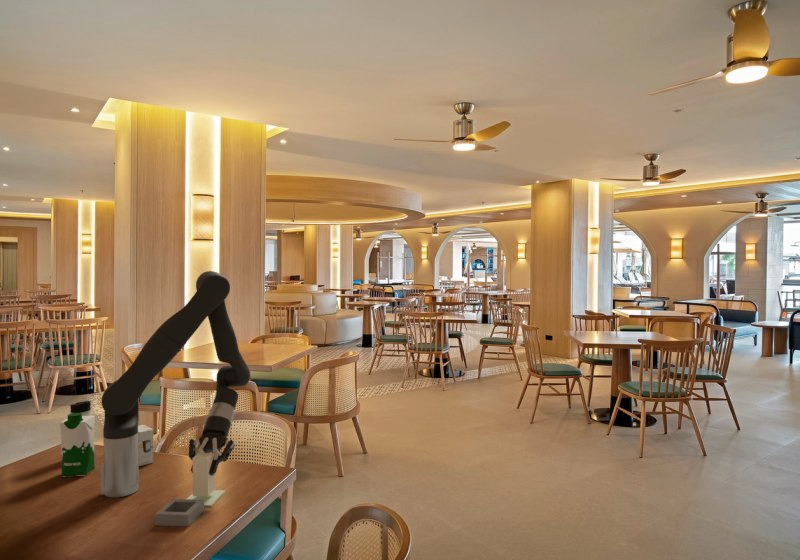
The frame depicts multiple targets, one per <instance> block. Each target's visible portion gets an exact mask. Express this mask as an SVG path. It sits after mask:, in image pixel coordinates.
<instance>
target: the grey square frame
mask: <svg viewBox="0 0 800 560" xmlns="http://www.w3.org/2000/svg"><path fill="white" fill-rule="evenodd" d="M204 511H205V506H204V500H192V499H187V498H185V499H184V498H172V499H170V501H169V502H167V503H166V504H165V505H163V506H162V508H160V509H159V510H158V511H157V512H156V513H155V514H154V526H165V527H166V526H167V527H190V525H191V524H193V523H194V521H196V519H197V518H199V516H200V515H201V514H203V512H204Z"/></svg>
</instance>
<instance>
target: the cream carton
mask: <svg viewBox="0 0 800 560" xmlns="http://www.w3.org/2000/svg"><path fill="white" fill-rule="evenodd" d="M196 454H197V453H196ZM213 460H214V453H212V452H210V453H199V454H197V455H196V456H195V457H193V458H192V460H191V462H192V464H193V474H192V493H193V496H209V495H210V494H211V493H212V492H213V491H214V490H216V485H215V484H216V482H215V481H216V477H215V475H216V473H215V474H214V475H213V476H211V475H210V474H209V470H210V467H211V464H212V461H213Z"/></svg>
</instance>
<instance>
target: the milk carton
mask: <svg viewBox="0 0 800 560" xmlns="http://www.w3.org/2000/svg"><path fill="white" fill-rule="evenodd" d="M95 418H96V415H91V416H82V413H72V414H71V413H69V414H67V418H65V419H63V420H62V421H60V422H59V428H60V452H61V453H60V455H61V456H60V458H61V461H60V462H61V477H62V476H76V475H86V474H87V473H88V472H89V473H91V472H92V471H93V470H94V469H95V421H96V420H95ZM93 468H94V469H93ZM92 469H93V470H92ZM91 470H92V471H91ZM90 471H91V472H90ZM89 473H88V474H89ZM88 474H87V475H88ZM87 475H86V476H87Z"/></svg>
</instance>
